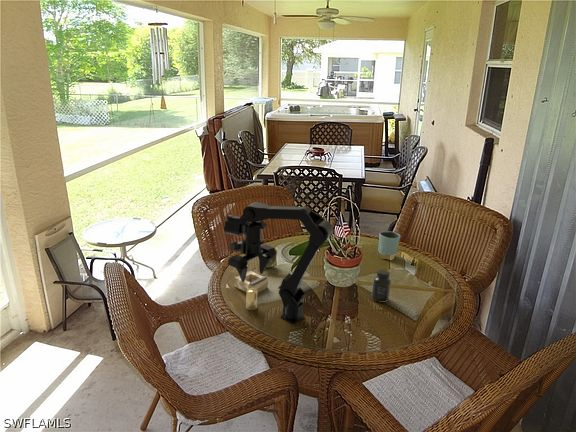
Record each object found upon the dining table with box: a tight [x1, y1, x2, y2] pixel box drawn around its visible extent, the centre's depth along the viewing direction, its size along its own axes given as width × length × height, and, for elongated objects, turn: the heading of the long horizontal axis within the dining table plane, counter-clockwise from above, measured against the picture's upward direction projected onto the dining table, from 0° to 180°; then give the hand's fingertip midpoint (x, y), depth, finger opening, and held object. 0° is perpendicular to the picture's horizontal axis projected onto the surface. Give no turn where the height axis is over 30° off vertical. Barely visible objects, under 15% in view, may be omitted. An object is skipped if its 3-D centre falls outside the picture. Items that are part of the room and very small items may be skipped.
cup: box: [265, 249, 278, 269], centre depth 188 cm, size 8×7×8 cm
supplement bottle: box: [371, 269, 392, 302], centre depth 167 cm, size 7×7×12 cm
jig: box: [234, 270, 269, 294], centre depth 170 cm, size 10×9×5 cm
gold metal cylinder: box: [245, 288, 259, 311], centre depth 155 cm, size 4×4×7 cm
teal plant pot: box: [377, 230, 401, 255], centre depth 208 cm, size 10×10×12 cm
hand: (252, 277), depth 153 cm, fingers open, 9 cm apart
